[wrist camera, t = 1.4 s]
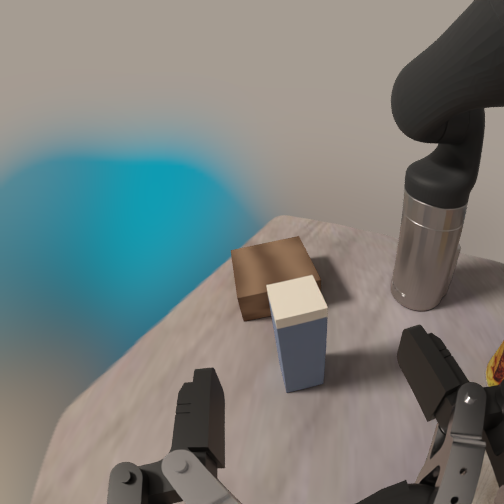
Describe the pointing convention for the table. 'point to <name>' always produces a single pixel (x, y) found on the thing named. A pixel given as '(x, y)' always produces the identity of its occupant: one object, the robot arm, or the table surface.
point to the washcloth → (486, 484)
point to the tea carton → (299, 331)
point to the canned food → (495, 368)
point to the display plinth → (268, 272)
